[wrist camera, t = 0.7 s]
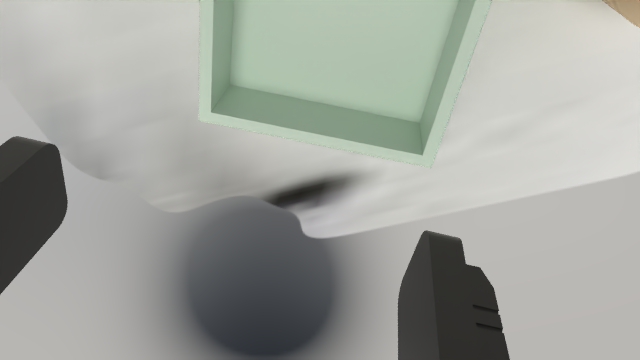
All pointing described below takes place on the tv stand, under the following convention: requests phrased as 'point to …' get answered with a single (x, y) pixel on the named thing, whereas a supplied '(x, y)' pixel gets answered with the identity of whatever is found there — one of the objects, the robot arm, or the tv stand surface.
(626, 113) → the tv stand surface
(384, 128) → the tote
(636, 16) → the beech cylinder
